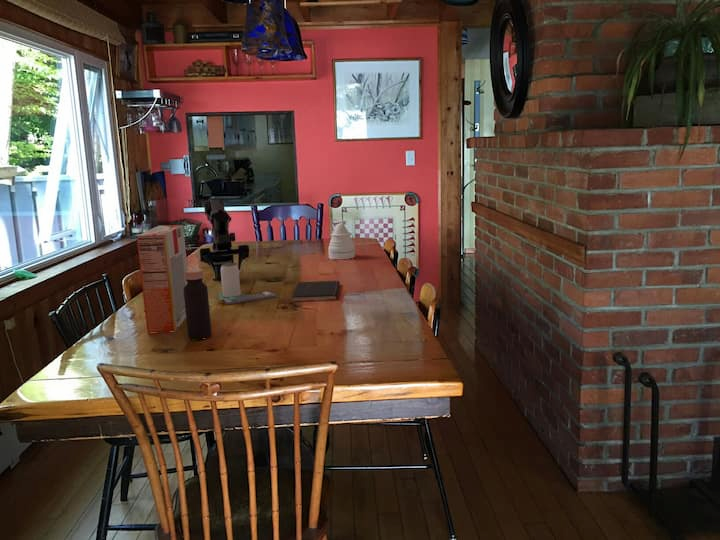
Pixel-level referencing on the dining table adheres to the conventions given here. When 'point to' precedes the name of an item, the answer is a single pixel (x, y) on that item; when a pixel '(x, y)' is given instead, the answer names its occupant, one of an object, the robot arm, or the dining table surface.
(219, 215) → the robot arm
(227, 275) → the can
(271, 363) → the dining table surface
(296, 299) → the hardcover book
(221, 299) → the pad
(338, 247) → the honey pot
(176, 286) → the cereal box
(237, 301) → the legend board
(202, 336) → the bottle
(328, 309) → the dining table surface
